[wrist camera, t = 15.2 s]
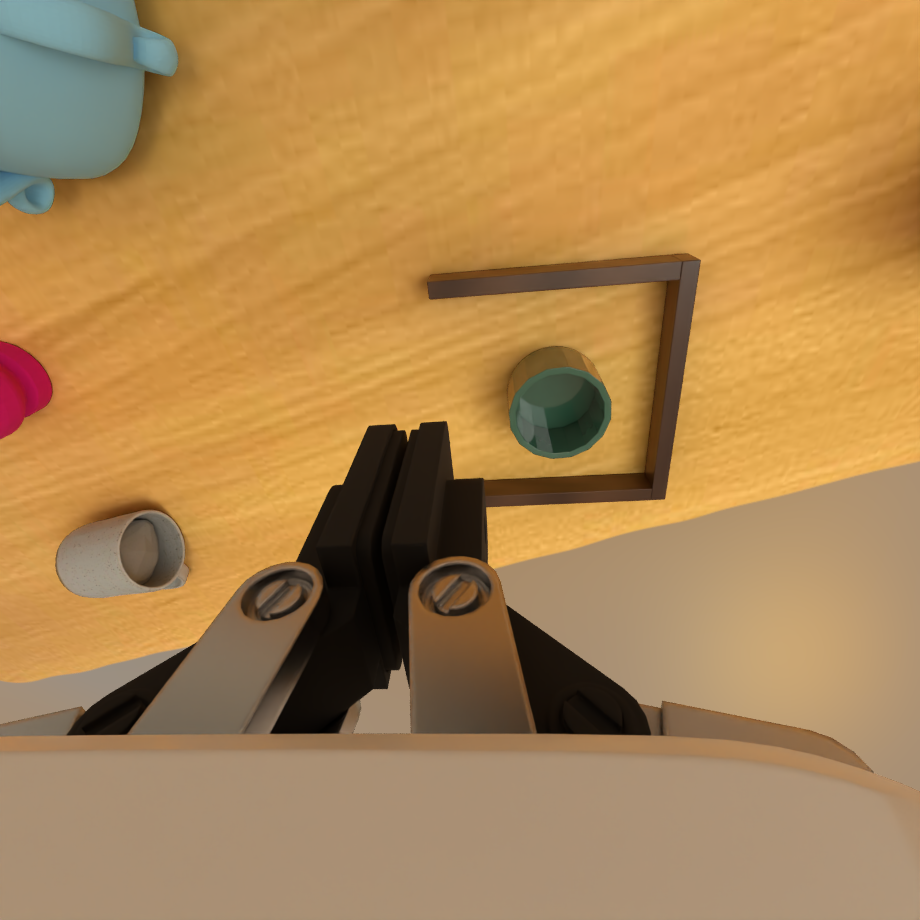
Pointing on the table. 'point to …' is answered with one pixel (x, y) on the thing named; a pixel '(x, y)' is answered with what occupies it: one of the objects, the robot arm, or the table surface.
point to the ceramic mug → (123, 556)
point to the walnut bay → (668, 380)
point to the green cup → (557, 403)
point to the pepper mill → (20, 387)
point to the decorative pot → (70, 92)
